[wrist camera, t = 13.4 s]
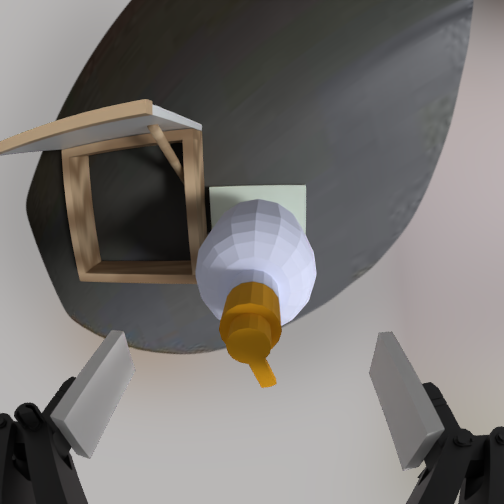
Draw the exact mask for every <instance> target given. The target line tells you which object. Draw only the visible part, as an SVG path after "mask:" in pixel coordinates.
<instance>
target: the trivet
mask: <svg viewBox="0 0 504 504" xmlns="http://www.w3.org/2000/svg"><path fill="white" fill-rule="evenodd" d="M209 191H210V209H211V225H212V229H213V227H214V226H215V224H216V223H217V222H218V220H219V219H220V218H221V216H222V215H223V214H224V212H226V211H227V210H229V209H230V208H232V207H234V206H235V205H237V204H238V203H240V202H244V201H250V200H255V199H261V200H266V201H271V202H275V203H278V204H280V205H281V206H283V207H284V208H285V209H287V210H288V211H290V212H291V213H293V215H294V216H295V218H296V219H297V221H298V223H299V224H300V226H301V227H302V229H303V231H304V233H306V185H238V186H212V187H209Z"/></svg>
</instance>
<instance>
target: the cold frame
mask: <svg viewBox="0 0 504 504" xmlns="http://www.w3.org/2000/svg"><path fill="white" fill-rule="evenodd" d="M147 128H148V129H149V131H150V133H149V134H142V135H135V136H129V137H123V138H117V139H111V140H106V141H101V142H96V143H91V144H86V145H82V146H77V147H73V148H68V149H64V150H62V165H63V178H64V188H65V197H66V206H67V213H68V220H69V227H70V233H71V239H72V244H73V250H74V255H75V260H76V264H77V269H78V273H79V278H80V281H91V282H122V283H169V284H197V280H196V273H195V271H196V264H197V257H198V251H199V248H200V247H201V245H202V244H203V242H204V241H205V239H206V238H207V223H206V207H205V190H204V171H203V148H202V131H199V130H196V129H193V128H192V129H182V130H172V131H164V132H162V130H161V128H160V127H159V125H158V124H154V125H148V126H147ZM181 142H183V162H184V169H183V167H182V165H181V164H180V162H179V160H178V158H177V157H176V155H175V153H174V151H173V150H172V148H171V146H170V144H171V143H181ZM153 145H159V147H160V148H161V150H162V152H163V153H164V155H165V156H166V158H167V160H168V161H169V163H170V164H171V166H172V167H173V169H174V170H175V172H176V174H177V175H178V177H179V178H180V180H181V181H182V183H183V185H185V196H186V210H187V223H188V235H189V246H190V256H191V261H101V257H100V251H99V246H98V240H97V233H96V227H95V220H94V212H93V204H92V195H91V185H90V174H89V159H88V156H89V155H95V154H100V153H106V152H112V151H118V150H124V149H131V148H138V147H146V146H153Z"/></svg>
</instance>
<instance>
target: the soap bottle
mask: <svg viewBox="0 0 504 504" xmlns="http://www.w3.org/2000/svg"><path fill="white" fill-rule="evenodd" d="M195 273H196V280H197V284H198V288H199V291H200V295H201V298H202V300H203V301H204V302H205V304H206V305H207V306H208V308H209V309H210V310H211V311H212V313H213V314H214V315H215V316H216V318H218V319H219V320H221V321H220V326H219V331H220V335H221V338H222V340H223V341H224V342H225V344H226V347H227V351H228V353H229V354H230V356H231V357H232V358H233V359H235V360H237V361H239V362H241V363H246V364H249V366H250V367H251V369H252V371H253V373H254V375H255V377H256V378H257V380H258V382H259V384H260V386H261V387H262V388H264V387H270V386H273V385H275V384H276V378H275V376H274V374H273V372H272V370H271V368H270V366H269V364H268V362H267V360H266V357H267V356H268V355H269V354H270V350H271V349H272V348H273V347H274V346H275V345H276V343H277V342H278V341H279V338H280V335H281V332H282V329H281V326H282V325H283V324H285V323H287V322H289V321H291V320H292V319H293V318H294V317H295V316H296V315H297V314H298V313H299V312H300V311H301V309H302V308H303V307H304V306H305V305H306V303H307V302H308V301H309V298H310V295H311V292H312V289H313V285H314V282H315V278H316V266H315V259H314V252H313V250H312V248H311V245H310V243H309V241H308V239H307V237H306V235H305V233H304V231H303V229H302V227H301V226H300V224H299V223H298V221H297V219H296V218H295V216H294V215H293V213H291V212H290V211H288V210H287V209H285V208H284V207H283V206H281V205H280V204H278V203H275V202H271V201H266V200H261V199H255V200H250V201H244V202H240V203H238V204H237V205H235V206H234V207H232V208H230V209H229V210H227V211H226V212H224V214H223V215H222V216H221V218H220V219H219V220H218V222H217V223H216V224H215V226H214V227H213V229H212V230H211V231H210V233H209V234H208V236H207V238H206V239H205V241H204V242H203V244H202V245H201V247H200V248H199V251H198V257H197V264H196V271H195Z"/></svg>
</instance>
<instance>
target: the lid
mask: <svg viewBox="0 0 504 504" xmlns="http://www.w3.org/2000/svg"><path fill="white" fill-rule="evenodd" d="M154 124H158V125H159V127H160V128H161V130H162V132H164V131H172V130H182V129H192V128H193V129H196V130H199V131H202V125H201V124H199V123H197V122H194V121H192V120H190V119H187V118H185V117H183V116H180V115H178V114H175V113H173V112H170V111H168V110H165V109H163V108H160V107H158V106H155V105H153V104H152V101H150V100H147V99H143V100H138V101H133V102H127V103H123V104H118V105H113V106H109V107H105V108H101V109H96V110H93V111H89V112H85V113H81V114H78V115H74V116H71V117H67V118H64V119H61V120H57V121H54V122H51V123H48V124H45V125H42V126H39V127H36V128H34V129H31V130H28V131H25V132H23V133H20V134H17V135H15V136H12V137H10V138H7V139H5V140H3V141H0V155H7V154H16V153H24V152H35V151H47V150H60V149H68V148H73V147H77V146H82V145H86V144H91V143H96V142H101V141H106V140H111V139H117V138H123V137H129V136H135V135H142V134H149V133H150V131H149V129H148V128H147V126H148V125H154Z"/></svg>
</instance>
